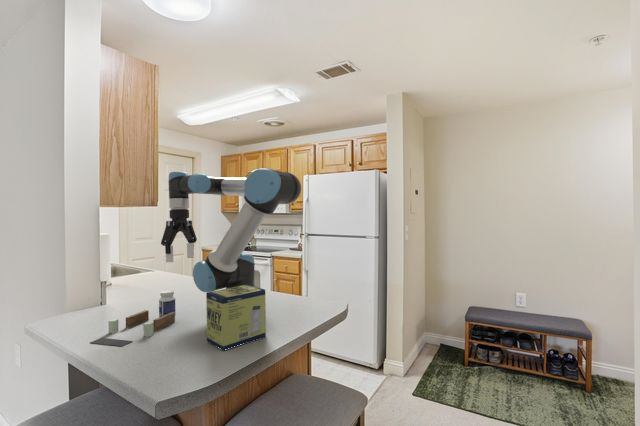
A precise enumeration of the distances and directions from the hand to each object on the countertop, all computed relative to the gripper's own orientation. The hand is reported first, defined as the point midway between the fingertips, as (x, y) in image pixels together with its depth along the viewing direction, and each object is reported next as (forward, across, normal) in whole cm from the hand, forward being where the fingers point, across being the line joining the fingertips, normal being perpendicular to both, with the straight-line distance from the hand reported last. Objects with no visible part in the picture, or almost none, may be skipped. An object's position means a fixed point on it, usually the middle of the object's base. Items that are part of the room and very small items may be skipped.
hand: (180, 260), depth 135 cm
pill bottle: (+21, +10, +1) cm, 23 cm away
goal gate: (+21, +27, 0) cm, 34 cm away
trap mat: (+21, +35, 0) cm, 41 cm away
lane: (+21, +18, 0) cm, 28 cm away
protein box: (+22, +25, +37) cm, 50 cm away
